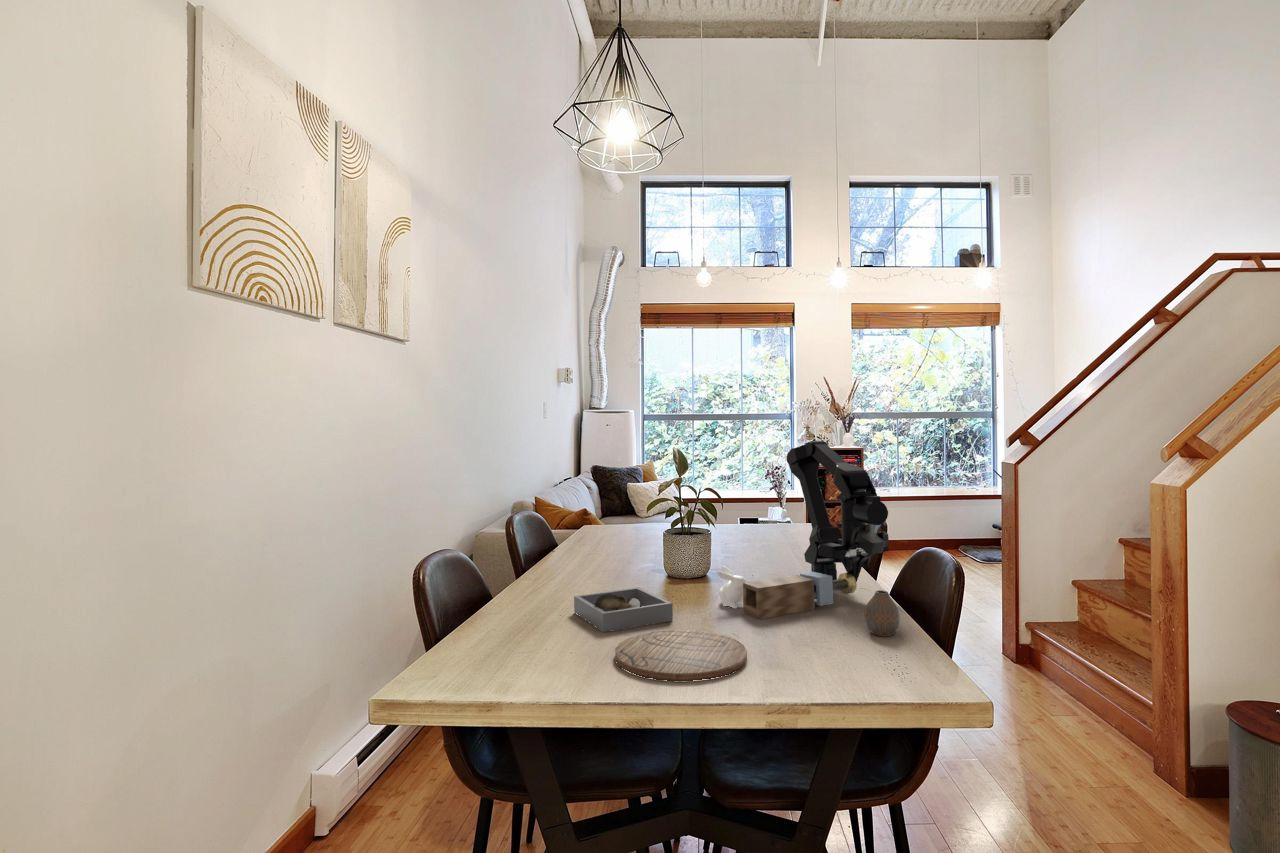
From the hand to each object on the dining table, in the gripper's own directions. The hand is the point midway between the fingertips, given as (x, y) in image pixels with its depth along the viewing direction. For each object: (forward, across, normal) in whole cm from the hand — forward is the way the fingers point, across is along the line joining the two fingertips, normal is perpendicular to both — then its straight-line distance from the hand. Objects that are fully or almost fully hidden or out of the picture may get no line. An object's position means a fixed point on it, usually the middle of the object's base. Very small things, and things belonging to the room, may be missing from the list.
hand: (854, 582), depth 173 cm
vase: (+4, -16, -24) cm, 29 cm away
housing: (+4, -23, 0) cm, 24 cm away
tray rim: (+4, -57, +15) cm, 59 cm away
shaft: (+3, -12, 0) cm, 12 cm away
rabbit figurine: (+4, -30, +10) cm, 32 cm away
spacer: (+3, -12, 0) cm, 13 cm away
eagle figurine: (+4, -60, +12) cm, 61 cm away
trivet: (+4, -60, -15) cm, 62 cm away
